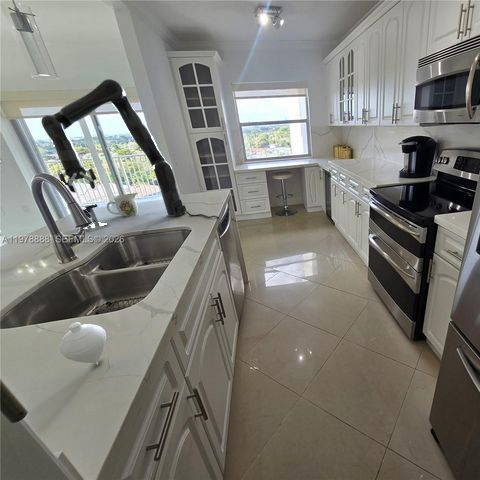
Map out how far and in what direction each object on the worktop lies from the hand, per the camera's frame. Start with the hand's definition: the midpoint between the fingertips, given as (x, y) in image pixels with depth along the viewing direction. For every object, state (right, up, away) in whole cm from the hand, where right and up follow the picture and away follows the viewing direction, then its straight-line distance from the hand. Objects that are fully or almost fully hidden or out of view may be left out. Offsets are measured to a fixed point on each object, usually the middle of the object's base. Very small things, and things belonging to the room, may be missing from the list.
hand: (84, 190), depth 137 cm
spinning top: (+75, -56, -78) cm, 122 cm away
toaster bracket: (-6, -19, +13) cm, 24 cm away
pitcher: (+2, -11, +29) cm, 31 cm away
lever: (-3, -10, +6) cm, 12 cm away
